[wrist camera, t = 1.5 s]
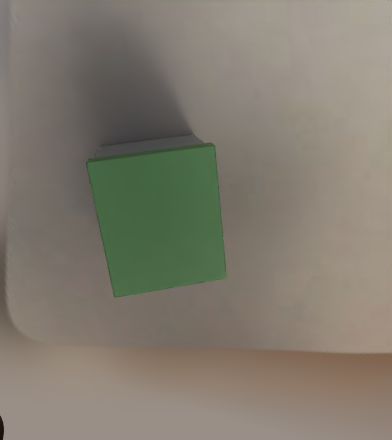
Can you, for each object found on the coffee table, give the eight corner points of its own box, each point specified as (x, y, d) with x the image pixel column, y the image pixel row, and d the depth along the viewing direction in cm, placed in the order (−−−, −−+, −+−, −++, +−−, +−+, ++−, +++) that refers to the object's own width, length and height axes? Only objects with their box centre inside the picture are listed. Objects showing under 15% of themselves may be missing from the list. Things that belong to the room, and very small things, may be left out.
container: (207, 238, 22) (227, 278, 17) (118, 253, 21) (114, 298, 17) (196, 132, 20) (215, 144, 15) (97, 144, 19) (85, 161, 15)
